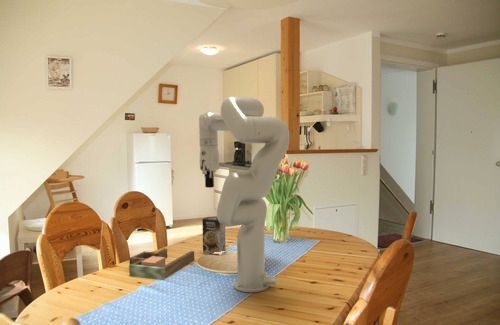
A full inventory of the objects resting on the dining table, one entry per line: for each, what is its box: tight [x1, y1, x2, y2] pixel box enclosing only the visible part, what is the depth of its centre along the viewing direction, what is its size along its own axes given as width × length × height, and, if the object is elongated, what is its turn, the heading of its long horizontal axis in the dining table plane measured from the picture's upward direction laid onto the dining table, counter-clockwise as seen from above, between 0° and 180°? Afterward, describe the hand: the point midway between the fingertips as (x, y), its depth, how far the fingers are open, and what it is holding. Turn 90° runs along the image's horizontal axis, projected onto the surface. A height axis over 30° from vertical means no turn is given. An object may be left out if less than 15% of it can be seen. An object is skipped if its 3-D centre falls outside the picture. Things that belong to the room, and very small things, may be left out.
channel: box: [128, 248, 195, 280], centre depth 152 cm, size 21×24×4 cm
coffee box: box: [202, 216, 227, 255], centre depth 171 cm, size 9×6×16 cm
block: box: [141, 256, 166, 267], centre depth 146 cm, size 6×8×5 cm
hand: (209, 187), depth 155 cm, fingers closed
